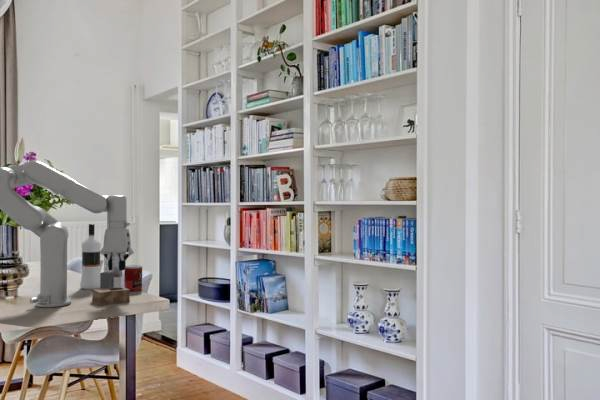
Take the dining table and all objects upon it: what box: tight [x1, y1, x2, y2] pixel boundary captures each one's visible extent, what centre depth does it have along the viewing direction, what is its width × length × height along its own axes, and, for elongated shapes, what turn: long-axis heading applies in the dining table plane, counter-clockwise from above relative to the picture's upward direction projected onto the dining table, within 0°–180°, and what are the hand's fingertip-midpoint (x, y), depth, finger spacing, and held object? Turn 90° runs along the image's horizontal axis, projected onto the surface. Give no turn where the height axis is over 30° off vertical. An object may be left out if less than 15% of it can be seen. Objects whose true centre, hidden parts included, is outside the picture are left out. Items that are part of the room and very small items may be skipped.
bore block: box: [91, 286, 131, 306], centre depth 215 cm, size 12×9×5 cm
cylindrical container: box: [103, 255, 122, 287], centre depth 238 cm, size 7×7×25 cm
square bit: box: [99, 271, 114, 289], centre depth 228 cm, size 4×4×10 cm
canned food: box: [123, 264, 143, 292], centre depth 243 cm, size 8×8×11 cm
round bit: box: [112, 253, 123, 278], centre depth 216 cm, size 4×4×10 cm
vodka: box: [79, 223, 102, 290], centre depth 247 cm, size 9×9×30 cm
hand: (116, 269), depth 216 cm, fingers closed on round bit, 4 cm apart
